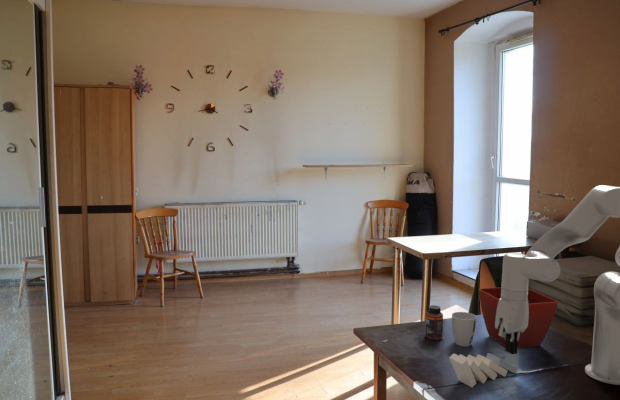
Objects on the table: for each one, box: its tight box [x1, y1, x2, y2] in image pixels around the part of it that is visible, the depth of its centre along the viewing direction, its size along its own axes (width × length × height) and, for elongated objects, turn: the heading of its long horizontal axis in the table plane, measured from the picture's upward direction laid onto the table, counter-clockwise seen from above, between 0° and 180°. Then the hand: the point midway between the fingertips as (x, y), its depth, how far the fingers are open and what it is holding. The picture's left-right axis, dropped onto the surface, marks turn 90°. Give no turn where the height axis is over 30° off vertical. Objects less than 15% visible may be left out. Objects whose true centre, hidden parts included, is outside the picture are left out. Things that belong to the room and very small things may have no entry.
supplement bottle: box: [425, 304, 444, 341], centre depth 181 cm, size 6×6×11 cm
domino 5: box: [485, 352, 519, 375], centre depth 154 cm, size 5×2×9 cm
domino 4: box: [475, 353, 509, 378], centre depth 152 cm, size 5×2×9 cm
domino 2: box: [458, 353, 488, 384], centre depth 148 cm, size 5×2×9 cm
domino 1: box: [448, 353, 477, 388], centre depth 146 cm, size 5×2×9 cm, turn 30°
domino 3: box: [466, 354, 498, 381], centre depth 150 cm, size 5×2×9 cm
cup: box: [451, 311, 477, 347], centre depth 176 cm, size 8×8×10 cm
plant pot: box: [478, 286, 559, 349], centre depth 179 cm, size 19×19×17 cm
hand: (510, 352), depth 156 cm, fingers closed
